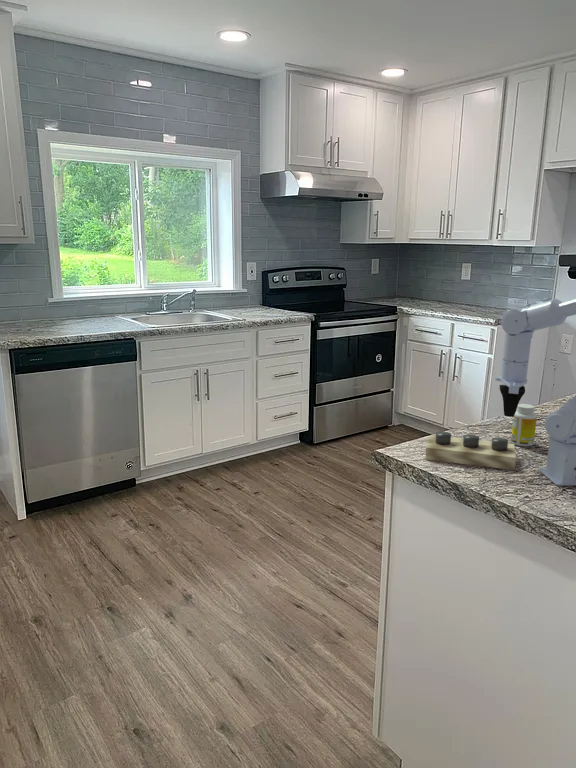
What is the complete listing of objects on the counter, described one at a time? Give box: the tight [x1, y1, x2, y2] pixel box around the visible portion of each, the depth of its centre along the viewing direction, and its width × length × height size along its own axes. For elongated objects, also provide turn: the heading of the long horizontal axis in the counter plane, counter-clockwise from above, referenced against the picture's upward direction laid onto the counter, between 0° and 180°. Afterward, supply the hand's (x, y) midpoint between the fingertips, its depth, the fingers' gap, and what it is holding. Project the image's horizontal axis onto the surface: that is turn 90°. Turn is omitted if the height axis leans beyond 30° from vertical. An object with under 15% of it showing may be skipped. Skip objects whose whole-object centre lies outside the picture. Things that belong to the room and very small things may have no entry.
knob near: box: [491, 437, 509, 451], centre depth 137 cm, size 4×4×5 cm
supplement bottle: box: [510, 403, 538, 447], centre depth 148 cm, size 6×6×10 cm
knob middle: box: [463, 434, 480, 448], centre depth 139 cm, size 4×4×5 cm
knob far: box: [435, 431, 452, 445], centre depth 141 cm, size 4×4×5 cm
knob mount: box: [425, 434, 517, 471], centre depth 139 cm, size 20×10×3 cm, turn 71°
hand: (509, 415), depth 138 cm, fingers closed
